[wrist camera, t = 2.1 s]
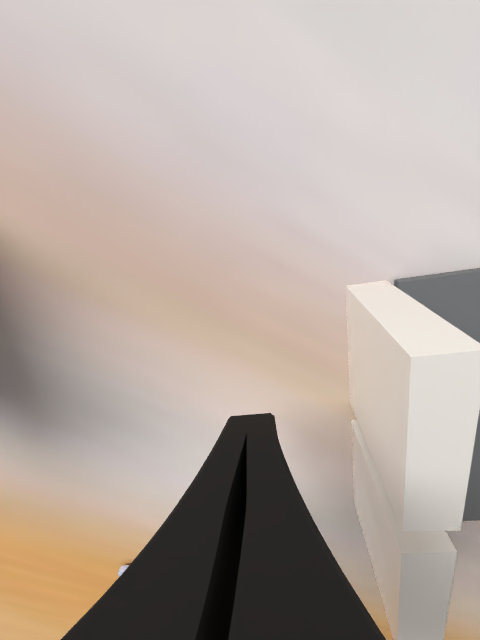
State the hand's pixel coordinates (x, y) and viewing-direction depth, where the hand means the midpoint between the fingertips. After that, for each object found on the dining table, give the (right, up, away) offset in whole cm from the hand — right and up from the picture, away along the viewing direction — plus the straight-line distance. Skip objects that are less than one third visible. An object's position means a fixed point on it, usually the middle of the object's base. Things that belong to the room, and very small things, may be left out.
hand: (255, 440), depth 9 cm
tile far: (+6, -4, +7) cm, 10 cm away
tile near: (+5, +2, +4) cm, 7 cm away
